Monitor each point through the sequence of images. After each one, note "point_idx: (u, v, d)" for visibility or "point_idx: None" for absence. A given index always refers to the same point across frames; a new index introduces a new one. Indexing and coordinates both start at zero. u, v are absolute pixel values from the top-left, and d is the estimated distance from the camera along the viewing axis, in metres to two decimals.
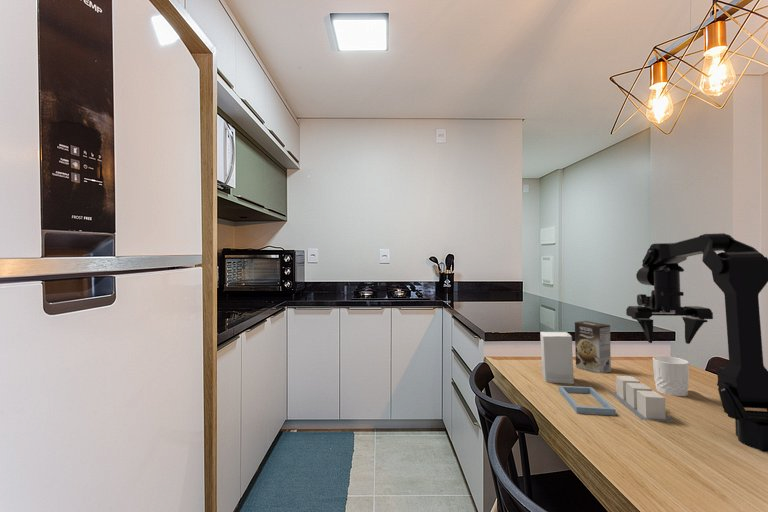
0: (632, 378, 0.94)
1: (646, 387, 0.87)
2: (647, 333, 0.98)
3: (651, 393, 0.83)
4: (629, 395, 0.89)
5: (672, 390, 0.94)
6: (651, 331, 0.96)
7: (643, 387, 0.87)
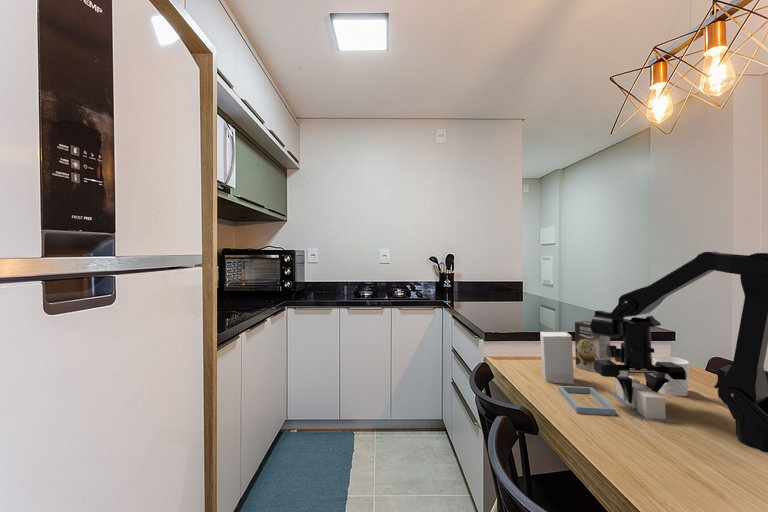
0: (632, 378, 0.94)
1: (646, 387, 0.87)
2: (626, 392, 0.88)
3: (651, 393, 0.83)
4: None
5: (672, 390, 0.94)
6: (630, 391, 0.87)
7: (643, 387, 0.87)
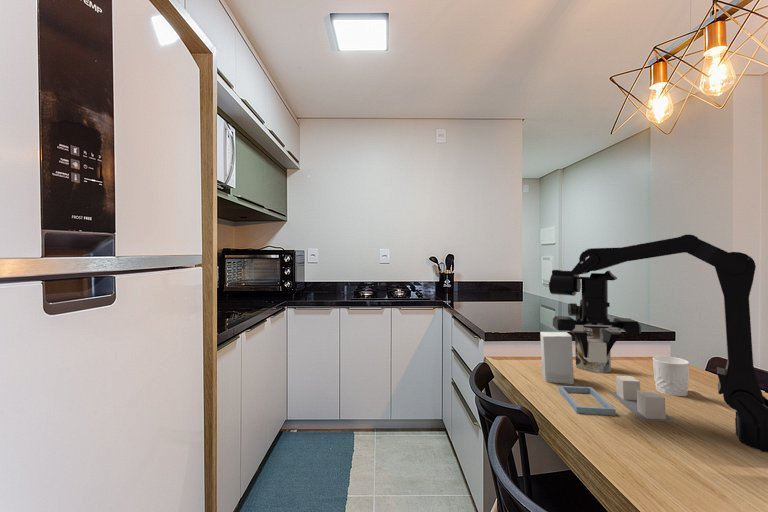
0: (632, 378, 0.94)
1: (602, 341, 0.88)
2: (582, 347, 0.89)
3: (651, 393, 0.83)
4: None
5: (672, 390, 0.94)
6: (585, 345, 0.88)
7: (599, 341, 0.88)
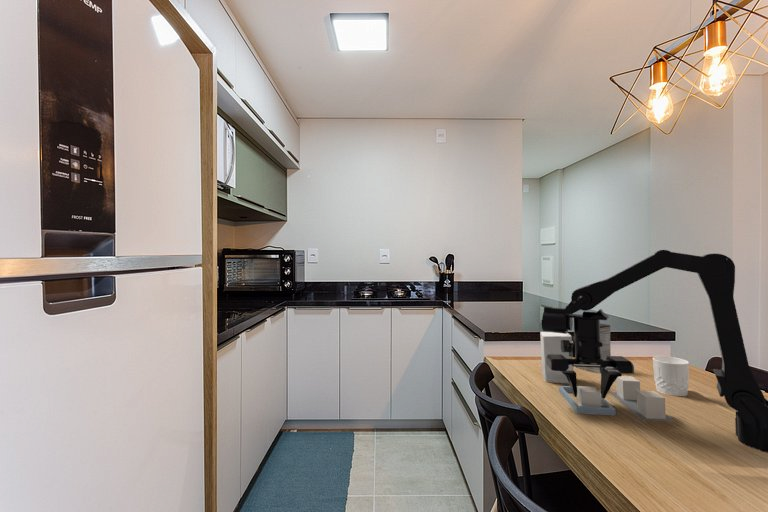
0: (632, 378, 0.94)
1: (596, 390, 0.87)
2: (571, 386, 0.88)
3: (651, 393, 0.83)
4: (579, 398, 0.89)
5: (672, 390, 0.94)
6: (575, 385, 0.87)
7: (593, 390, 0.87)
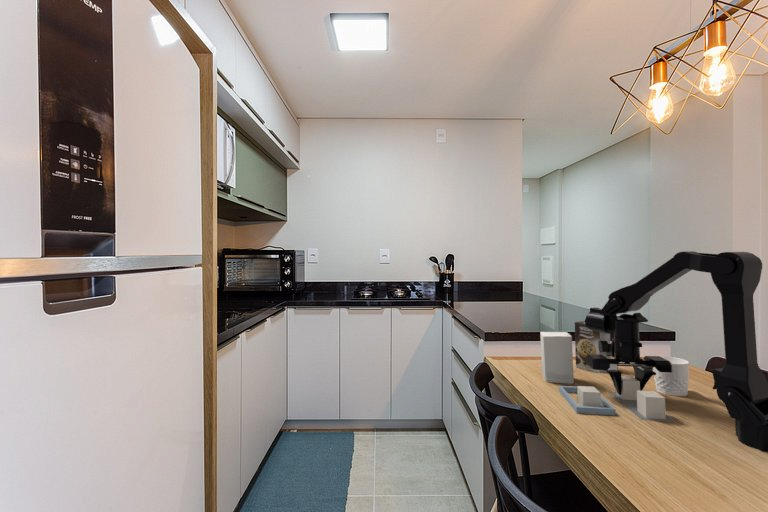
0: (632, 378, 0.94)
1: (596, 390, 0.87)
2: (616, 385, 0.93)
3: (651, 393, 0.83)
4: (579, 398, 0.89)
5: (672, 390, 0.94)
6: (619, 383, 0.92)
7: (593, 390, 0.87)
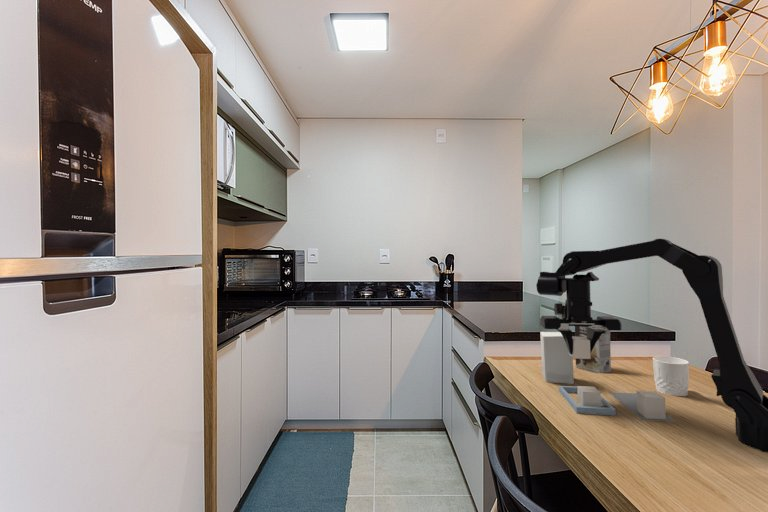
0: (584, 338, 0.94)
1: (596, 390, 0.87)
2: (567, 344, 0.94)
3: (651, 393, 0.83)
4: (579, 398, 0.89)
5: (672, 390, 0.94)
6: (570, 342, 0.93)
7: (593, 390, 0.87)
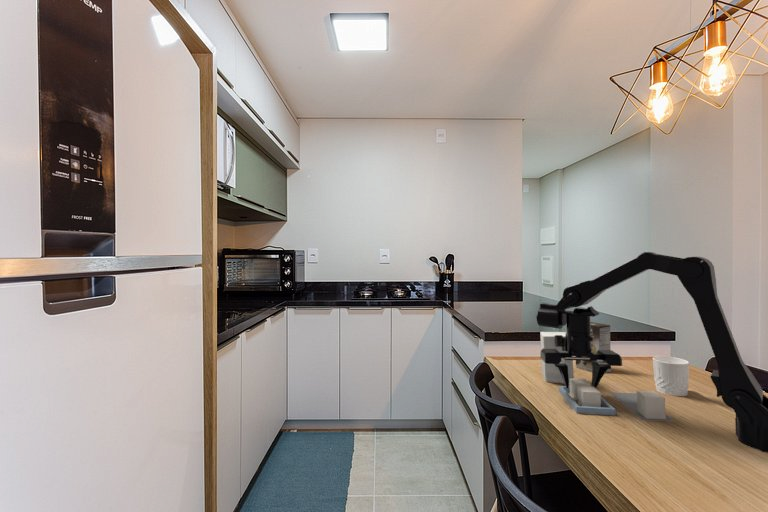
0: (584, 381, 0.94)
1: (596, 390, 0.87)
2: (563, 378, 0.94)
3: (651, 393, 0.83)
4: (579, 398, 0.89)
5: (672, 390, 0.94)
6: (566, 377, 0.93)
7: (593, 390, 0.87)
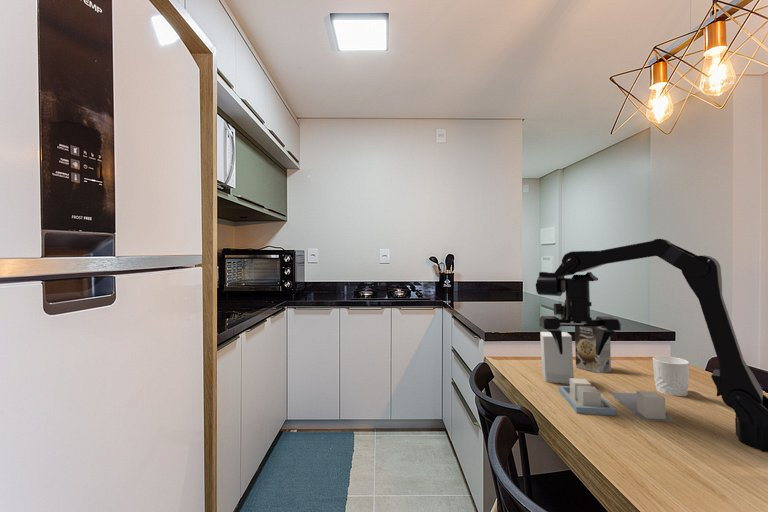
0: (584, 381, 0.94)
1: (596, 390, 0.87)
2: (557, 344, 0.95)
3: (651, 393, 0.83)
4: (579, 398, 0.89)
5: (672, 390, 0.94)
6: (560, 342, 0.93)
7: (593, 390, 0.87)
